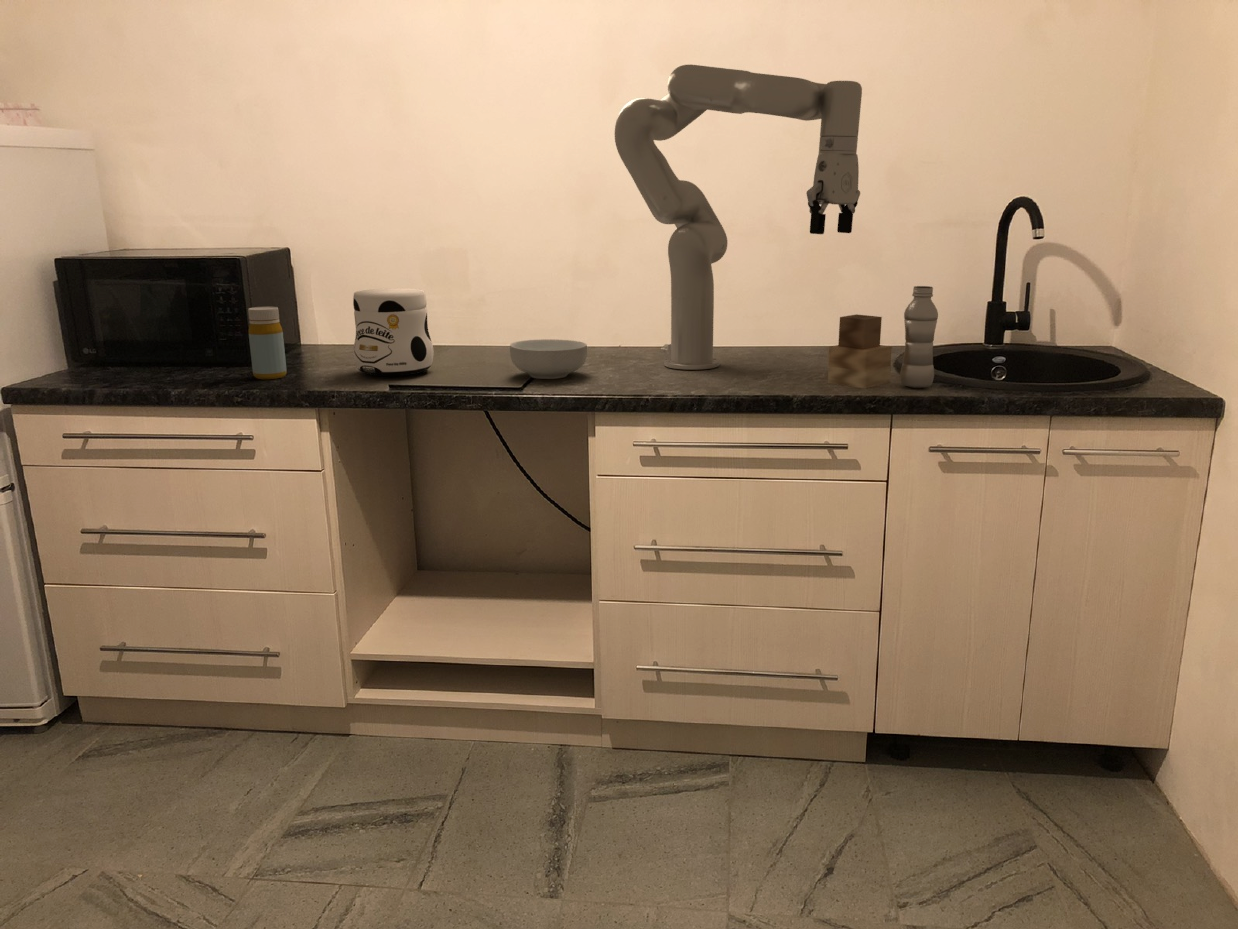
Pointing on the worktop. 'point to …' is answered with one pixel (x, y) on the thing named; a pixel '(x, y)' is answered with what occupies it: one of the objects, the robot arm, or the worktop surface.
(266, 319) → the bottle
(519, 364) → the cereal bowl
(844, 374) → the tower base
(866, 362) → the tower top
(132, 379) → the worktop surface
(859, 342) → the walnut cube
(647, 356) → the worktop surface
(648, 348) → the worktop surface
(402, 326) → the doce de leite jar
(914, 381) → the plastic bottle
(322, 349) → the worktop surface
